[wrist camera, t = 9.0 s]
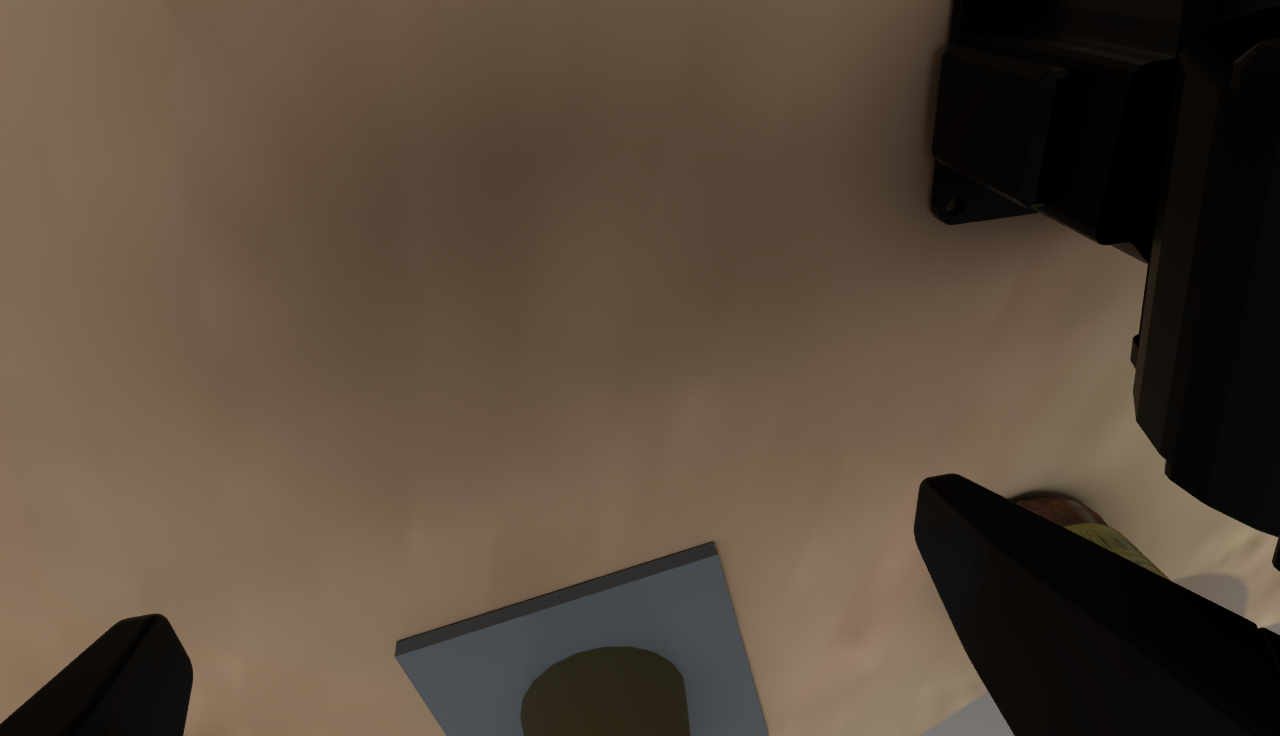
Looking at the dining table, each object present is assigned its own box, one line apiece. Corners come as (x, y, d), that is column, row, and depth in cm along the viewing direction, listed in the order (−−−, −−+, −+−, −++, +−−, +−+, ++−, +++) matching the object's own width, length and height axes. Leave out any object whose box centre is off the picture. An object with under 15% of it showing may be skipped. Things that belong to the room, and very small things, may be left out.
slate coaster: (713, 541, 26) (717, 554, 25) (767, 732, 32) (771, 745, 31) (396, 642, 26) (395, 656, 25) (508, 815, 31) (508, 830, 31)
